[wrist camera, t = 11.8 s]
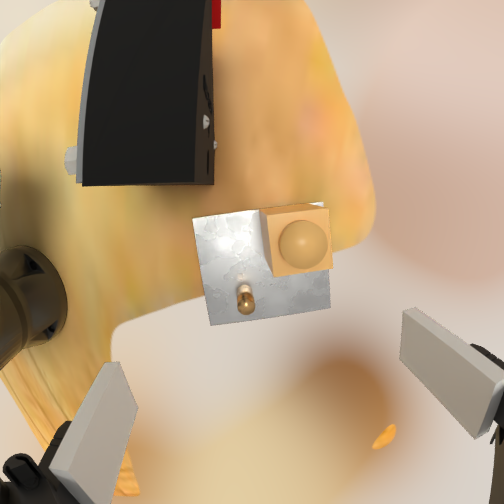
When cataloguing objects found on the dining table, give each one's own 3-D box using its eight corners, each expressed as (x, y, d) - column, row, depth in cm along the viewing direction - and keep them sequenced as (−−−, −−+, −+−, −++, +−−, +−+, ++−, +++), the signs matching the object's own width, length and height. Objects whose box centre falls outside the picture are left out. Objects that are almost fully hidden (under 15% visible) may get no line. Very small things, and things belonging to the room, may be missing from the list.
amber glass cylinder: (237, 300, 40) (238, 316, 35) (235, 285, 39) (236, 299, 34) (253, 298, 40) (256, 313, 35) (251, 283, 39) (254, 297, 34)
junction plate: (210, 323, 41) (210, 325, 40) (193, 218, 38) (192, 218, 37) (328, 305, 41) (330, 307, 41) (321, 201, 38) (323, 201, 38)
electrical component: (146, 56, 33) (89, -27, 14) (224, 52, 34) (220, -45, 14) (138, 185, 37) (54, 188, 17) (219, 184, 37) (205, 182, 18)
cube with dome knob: (264, 257, 39) (275, 281, 29) (258, 209, 37) (268, 217, 28) (312, 251, 39) (337, 272, 29) (307, 203, 38) (333, 209, 28)
